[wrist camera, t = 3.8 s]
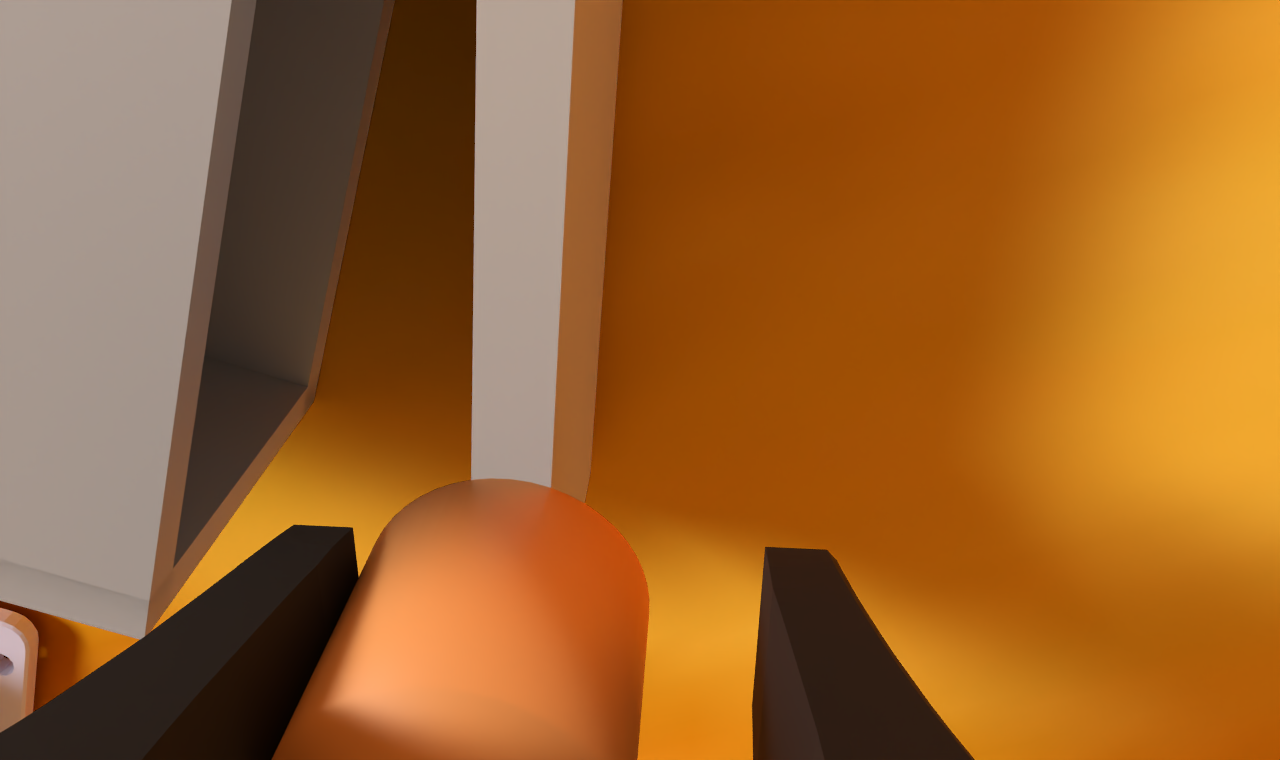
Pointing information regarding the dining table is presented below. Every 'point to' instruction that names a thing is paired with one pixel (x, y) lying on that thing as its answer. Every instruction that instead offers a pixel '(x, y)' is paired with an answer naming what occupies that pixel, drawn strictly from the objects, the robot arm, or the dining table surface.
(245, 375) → the carton
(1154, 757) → the dining table surface
